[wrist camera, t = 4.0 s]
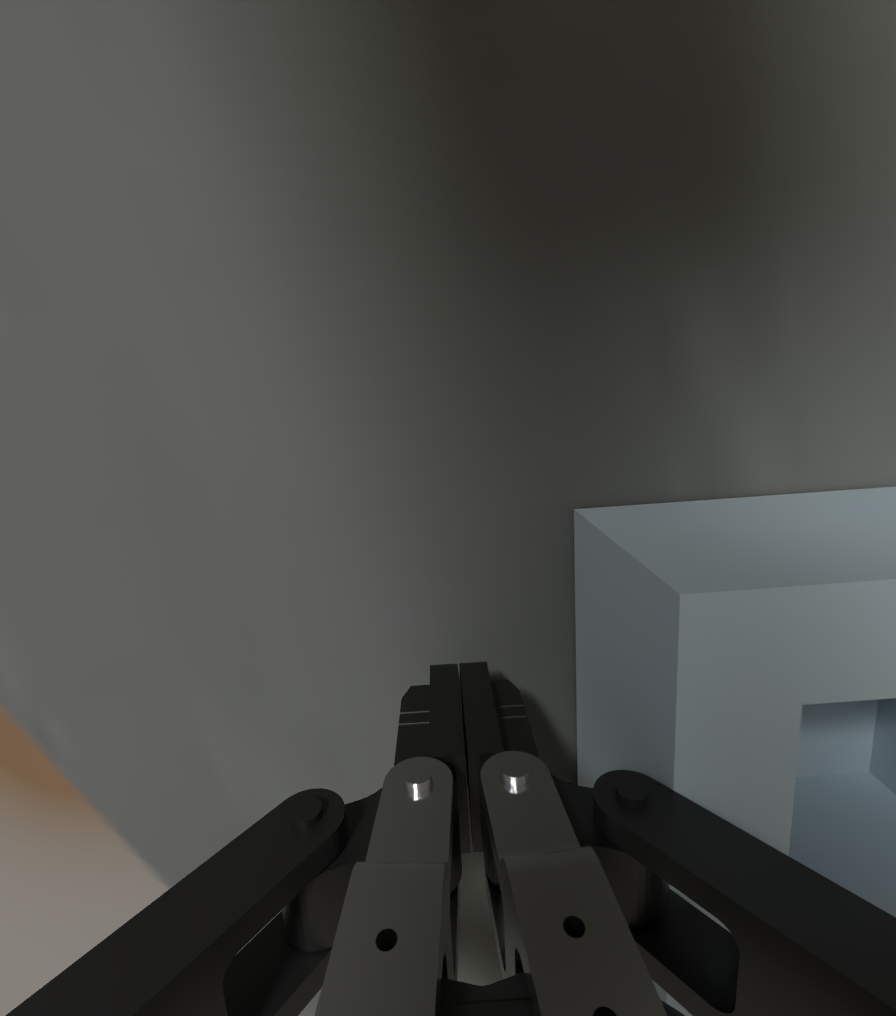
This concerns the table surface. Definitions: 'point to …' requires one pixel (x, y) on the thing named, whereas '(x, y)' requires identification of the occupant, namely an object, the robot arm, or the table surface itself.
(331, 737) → the table surface
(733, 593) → the socket block
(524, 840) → the robot arm
